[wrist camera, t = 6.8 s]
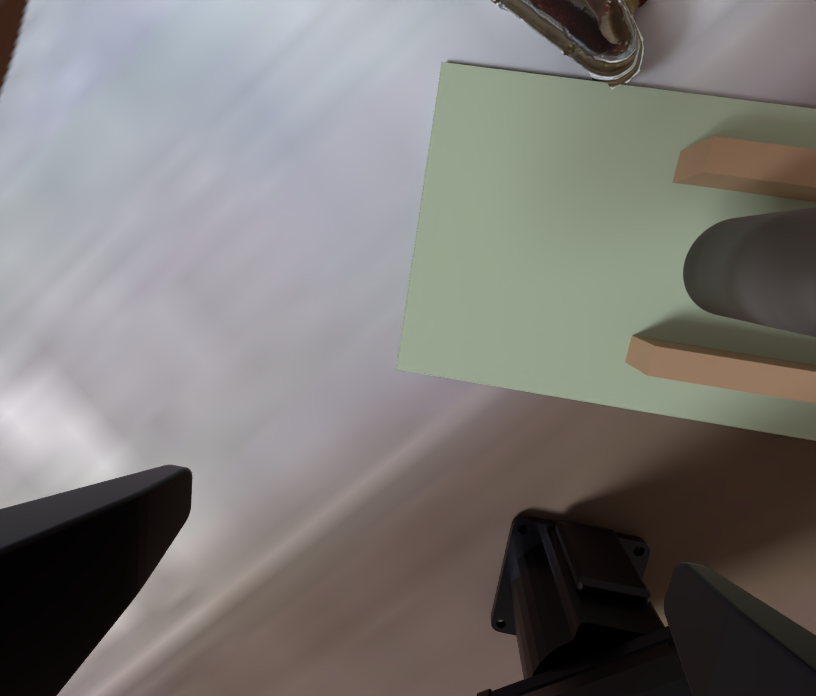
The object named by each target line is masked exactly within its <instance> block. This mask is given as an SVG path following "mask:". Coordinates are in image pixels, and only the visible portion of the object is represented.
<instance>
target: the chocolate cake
mask: <svg viewBox="0 0 816 696" xmlns="http://www.w3.org/2000/svg"><path fill="white" fill-rule="evenodd" d="M491 1H492V2H493V3H495V4H497V5H498V6H499V7H500V8H501V9H504V10H506V11H509V12H512V13H514V14H515V15H516V16H517V17H518V18H519V19H520V18H522V19H523V20H524V21H525V22H526V23H527V24H528V25H529V27H530V28H532V29H533V30H534V31H536V32H537V33H538V34H539V35H541V36H543V37H545V38H546V39H547V40H548V41H549V42H550V43H552V44H554V45H555V46H556V47H558V48H559V49H560V51H561V52H562V53H563V55H567V56H569V57H570V58H571V59H572V60H573V61H575V62H577V63H579V64H580V65H582V66H583V67H584V68H585V69H586V70H587V71H588V72H589V74H590V76H591V78H592V80H593V81H597V82H605V83H608V85H609V87H610V88H611V89H613V88H615V87H617V86H620V85H621V84H622V83H623V82H625V83H628V82H629V81H630V80H631V78H633V77H634V76H635V75H637V74H639V73H640V72H641V71H640V65H641V63H642V58H643V53H644V51H645V50H644V44H643V40H644V39H643V37H642V35H641V33H640V30H639V29H638V27H637V25H636V22H635V19H634V12H635V11H636V9H637V8H639V7H641V6H642V5H643V4H644V3H645V2H646V1H647V0H491Z"/></svg>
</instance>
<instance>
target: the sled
mask: <svg viewBox="0 0 816 696" xmlns="http://www.w3.org/2000/svg"><path fill="white" fill-rule="evenodd" d="M683 280H684V285H685V288H686V291H687V293H688V295H689V297H690V298H691V299H692V301H693V302H694V303H695V304H696V305H697V306H699V307H700V308H701V309H703V310H705V311H707V312H709V313H711V314H714V315H719V316H723V317H728V318H732V319H736V320H741V321H745V322H750V323H754V324H758V325H763V326H767V327H772V328H776V329H781V330H785V331H789V332H794V333H798V334H803V335H807V336H811V337H816V207H813V208H805V209H798V210H790V211H783V212H775V213H767V214H760V215H752V216H744V217H737V218H731V219H727V220H724V221H721V222H719V223H716V224H715V225H713V226H711V227H709V228H708V229H707V230H705V231H704V232H703V233H702V234H701V235H700V236H699V237H698V238H697V239H696V240H695V241H694V243H693V244H692V246H691V247H690V249H689V251H688V253H687V256H686V258H685V262H684V267H683Z"/></svg>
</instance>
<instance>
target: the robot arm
mask: <svg viewBox="0 0 816 696" xmlns="http://www.w3.org/2000/svg"><path fill="white" fill-rule="evenodd" d="M191 495H192V472H191V470H190V469H189V468H186V467H181V466H176V465H164V466H161V467H157V468H153V469H149V470H146V471H142V472H138V473H134V474H131V475H127V476H123V477H119V478H116V479H112V480H108V481H104V482H101V483H97V484H93V485H89V486H86V487H82V488H78V489H74V490H71V491H67V492H63V493H59V494H56V495H52V496H48V497H44V498H41V499H37V500H33V501H29V502H26V503H22V504H18V505H14V506H11V507H7V508H3V509H0V696H57V694H58V693H59V692H60V691H61V689H62V688H63V687H64V686H65V684H66V683H67V682H68V681H69V679H70V678H71V677H72V676H73V674H74V673H75V672H76V671H77V669H78V668H79V667H80V666H81V664H82V663H83V662H84V661H85V659H86V658H87V657H88V656H89V654H90V653H91V652H92V651H93V649H94V648H95V647H96V646H97V645H98V643H99V642H100V641H101V640H102V638H103V637H104V636H105V635H106V633H107V632H108V631H109V630H110V628H111V627H112V626H113V625H114V623H115V622H116V621H117V620H118V618H119V617H120V616H121V615H122V613H123V612H124V611H125V610H126V608H127V607H128V606H129V605H130V603H131V602H132V601H133V599H134V598H135V597H136V595H137V594H138V593H139V591H140V590H141V588H142V587H143V586H144V584H145V583H146V581H147V580H148V578H149V577H150V575H151V574H152V572H153V571H154V569H155V568H156V566H157V565H158V563H159V562H160V560H161V559H162V557H163V556H164V554H165V553H166V551H167V549H168V548H169V546H170V545H171V543H172V542H173V540H174V539H175V537H176V536H177V534H178V533H179V531H180V530H181V528H182V527H183V525H184V524H185V522H186V520H187V518H188V516H189V513H190V510H191ZM520 525H526V526H527V527H526V528H524V529H519V528H518V527H519V526H520ZM636 547H641V548H640V549H639V550H637V551H634V548H636ZM649 554H650V549H649V546H648V545H647V543H646V542H645V541H644V540H643V539H642V538H640V537H636V536H630V535H625V534H620V533H614V532H613V530H611V529H606V528H600V527H595V526H590V525H584V524H579V523H574V522H568V521H559V522H556V521H551V520H545V519H540V518H535V517H529V516H522V515H520V516H517V517H515V518H514V519H513V521H512V524H511V528H510V533H509V537H508V541H507V546H506V550H505V555H504V559H503V564H502V568H501V573H500V577H499V582H498V586H497V590H496V595H495V599H494V604H493V608H492V613H491V625H492V627H493V629H495V630H496V631H498V632H502V633H507V634H512V635H516V636H517V642H518V648H519V654H520V659H521V665H522V671H523V677H524V680H521V681H518V682H516V683H513V684H510V685H508V686H505V687H502V688H499V689H497V690H494V691H492V690H491V689H487V690H485V691H482V692H479V693H477V696H816V635H814V634H813V633H811V632H809V631H808V630H806V629H805V628H803V627H802V626H800V625H798V624H797V623H795V622H794V621H792V620H791V619H789V618H787V617H786V616H784V615H783V614H781V613H779V612H778V611H776V610H775V609H773V608H772V607H770V606H768V605H767V604H765V603H764V602H762V601H761V600H759V599H757V598H756V597H754V596H753V595H751V594H750V593H748V592H746V591H745V590H743V589H742V588H740V587H739V586H737V585H735V584H734V583H732V582H731V581H729V580H727V579H726V578H724V577H723V576H721V575H720V574H718V573H716V572H715V571H713V570H712V569H710V568H709V567H707V566H704V565H701V564H696V563H690V562H684V561H682V562H680V563H678V564H677V565H676V566H675V569H674V572H673V575H672V578H671V581H670V584H669V587H668V590H667V593H666V596H665V600H664V611H665V616H666V619H667V622H668V625H669V626H667V627H665V626H664V624H663V623H662V621H661V619H660V617H659V616H658V614H657V612H656V610H655V609H654V607H653V605H652V603H651V602H650V596H651V595H650V592H649V590H648V589H647V587H646V585H645V583H644V582H643V580H642V576H643V573H644V570H645V567H646V563H647V560H648V557H649ZM498 620H504V621H503V622H499V621H498Z"/></svg>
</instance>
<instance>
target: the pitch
mask: <svg viewBox="0 0 816 696" xmlns="http://www.w3.org/2000/svg"><path fill="white" fill-rule="evenodd" d="M813 207H816V109H813V108H805V107H797V106H789V105H781V104H773V103H765V102H757V101H749V100H741V99H733V98H725V97H717V96H709V95H701V94H693V93H685V92H677V91H669V90H661V89H653V88H645V87H637V86H629V85H620V86H617V87H615V88H613V89H611V88H610V87H609V85H608V83H605V82H597V81H589V80H581V79H573V78H565V77H557V76H549V75H541V74H533V73H525V72H517V71H509V70H501V69H493V68H485V67H477V66H469V65H461V64H453V63H445V62H442V64H441V71H440V78H439V84H438V91H437V98H436V105H435V111H434V118H433V125H432V132H431V138H430V145H429V152H428V159H427V165H426V172H425V179H424V186H423V192H422V199H421V206H420V213H419V219H418V226H417V233H416V240H415V246H414V253H413V260H412V267H411V273H410V280H409V287H408V294H407V300H406V307H405V314H404V321H403V327H402V334H401V341H400V348H399V354H398V361H397V368H396V370H402V371H408V372H414V373H420V374H426V375H432V376H438V377H444V378H449V379H455V380H461V381H467V382H473V383H479V384H485V385H491V386H496V387H502V388H508V389H514V390H520V391H526V392H532V393H538V394H543V395H549V396H555V397H561V398H567V399H573V400H579V401H585V402H591V403H596V404H602V405H608V406H614V407H620V408H626V409H632V410H638V411H643V412H649V413H655V414H661V415H667V416H673V417H679V418H685V419H690V420H696V421H702V422H708V423H714V424H720V425H726V426H732V427H738V428H743V429H749V430H755V431H761V432H767V433H773V434H779V435H785V436H790V437H796V438H802V439H808V440H814V441H816V337H811V336H807V335H803V334H798V333H794V332H789V331H785V330H781V329H776V328H772V327H767V326H763V325H758V324H754V323H750V322H745V321H741V320H736V319H732V318H728V317H723V316H719V315H714V314H711V313H709V312H707V311H705V310H703V309H701V308H700V307H699V306H697V305H696V304H695V303H694V302H693V301H692V299H691V298H690V297H689V295H688V293H687V291H686V288H685V285H684V280H683V267H684V262H685V258H686V256H687V253H688V251H689V249H690V247H691V246H692V244H693V243H694V241H695V240H696V239H697V238H698V237H699V236H700V235H701V234H702V233H703V232H704V231H705V230H707V229H708V228H709V227H711V226H713V225H715V224H716V223H719V222H721V221H724V220H727V219H731V218H737V217H744V216H752V215H760V214H767V213H775V212H783V211H790V210H798V209H805V208H813Z"/></svg>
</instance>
